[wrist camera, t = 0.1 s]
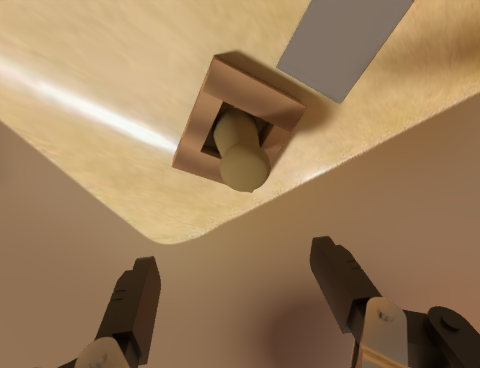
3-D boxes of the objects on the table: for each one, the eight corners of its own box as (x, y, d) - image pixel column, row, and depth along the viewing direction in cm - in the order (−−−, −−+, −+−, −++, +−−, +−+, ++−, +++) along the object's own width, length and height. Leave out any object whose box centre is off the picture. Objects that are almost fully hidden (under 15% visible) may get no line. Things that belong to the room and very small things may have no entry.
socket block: (214, 55, 26) (215, 59, 24) (300, 101, 31) (307, 107, 29) (173, 157, 33) (171, 167, 31) (249, 183, 38) (251, 192, 36)
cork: (265, 122, 32) (290, 166, 23) (240, 157, 35) (254, 208, 26) (227, 98, 29) (239, 137, 21) (203, 137, 32) (205, 187, 23)
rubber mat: (343, -60, 22) (345, -61, 22) (410, 1, 26) (413, 1, 26) (276, 67, 28) (276, 68, 28) (338, 103, 32) (340, 104, 31)
